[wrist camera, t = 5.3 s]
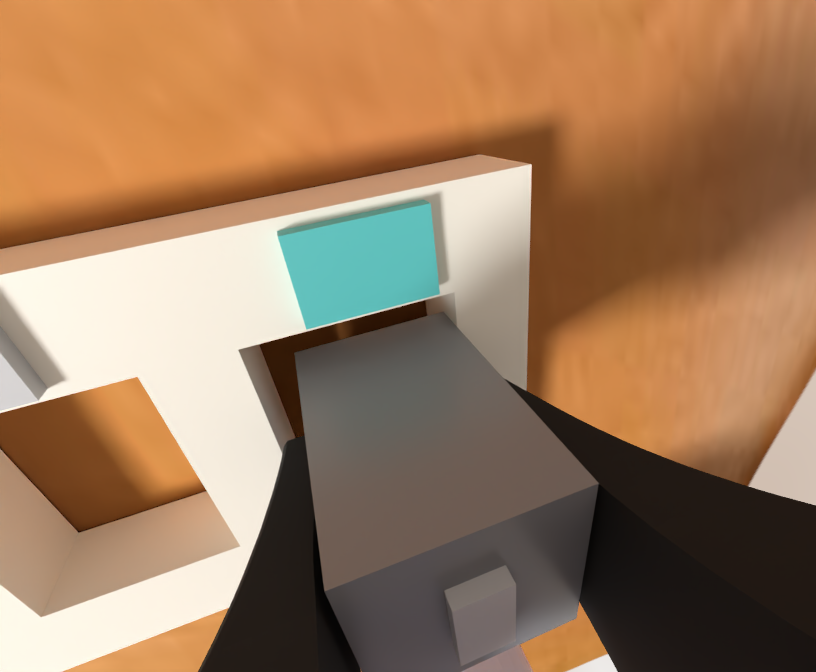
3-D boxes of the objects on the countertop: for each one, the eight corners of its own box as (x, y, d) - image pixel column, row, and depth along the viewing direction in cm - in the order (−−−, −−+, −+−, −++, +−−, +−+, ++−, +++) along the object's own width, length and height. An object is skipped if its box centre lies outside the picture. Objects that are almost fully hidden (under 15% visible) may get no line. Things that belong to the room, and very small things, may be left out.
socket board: (491, 445, 16) (530, 503, 14) (54, 599, 13) (7, 707, 11) (479, 154, 11) (542, 166, 8) (-285, 305, 8) (-540, 394, 5)
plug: (454, 421, 13) (586, 635, 8) (331, 462, 12) (383, 731, 7) (443, 311, 11) (614, 500, 6) (293, 352, 10) (327, 616, 5)
